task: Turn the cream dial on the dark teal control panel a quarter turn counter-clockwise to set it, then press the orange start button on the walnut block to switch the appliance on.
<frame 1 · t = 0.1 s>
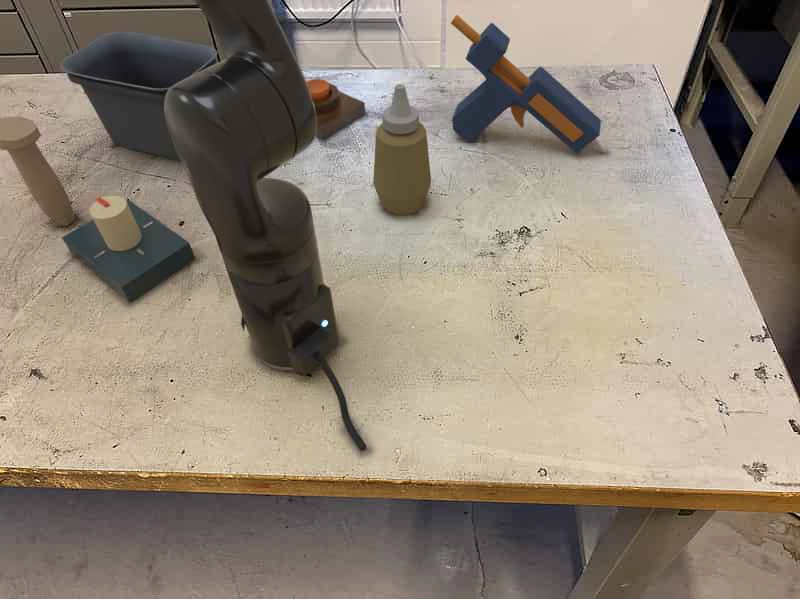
dial panel: (133, 256, 80), on the table
handle: (65, 221, 85), on the table
glue gun: (524, 142, 95), on the table
start button: (316, 90, 98), point 4 cm above the table, slide at 0.1 cm
dial: (116, 222, 75), point 6 cm above the table, hinge at 0.0°
squeeze bottle: (402, 203, 86), on the table
button block: (319, 114, 102), on the table
storage bin: (173, 139, 98), on the table
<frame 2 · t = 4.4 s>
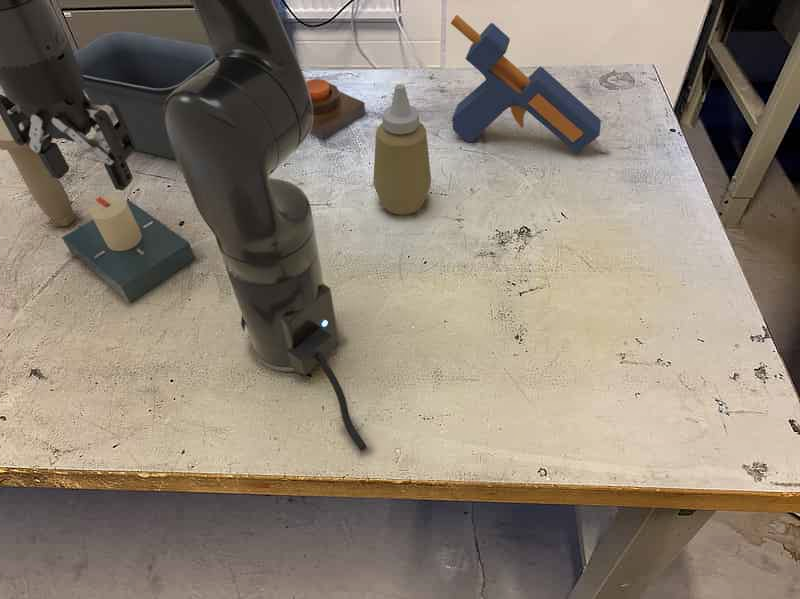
hand: (93, 180, 70), 13 cm above the table, tool pointing down, fingers open, 8 cm apart
nothing on the table moved.
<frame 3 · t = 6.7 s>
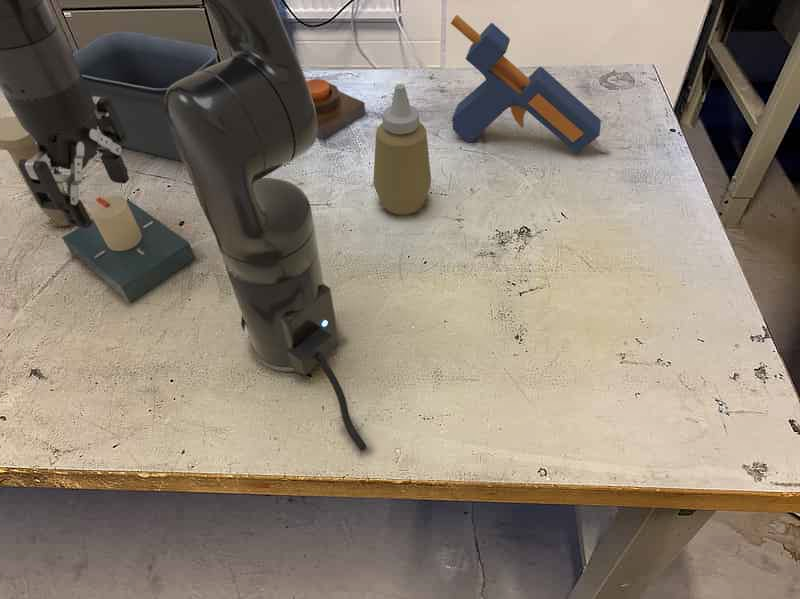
hand: (103, 202, 72), 9 cm above the table, tool pointing down, fingers open, 8 cm apart
nothing on the table moved.
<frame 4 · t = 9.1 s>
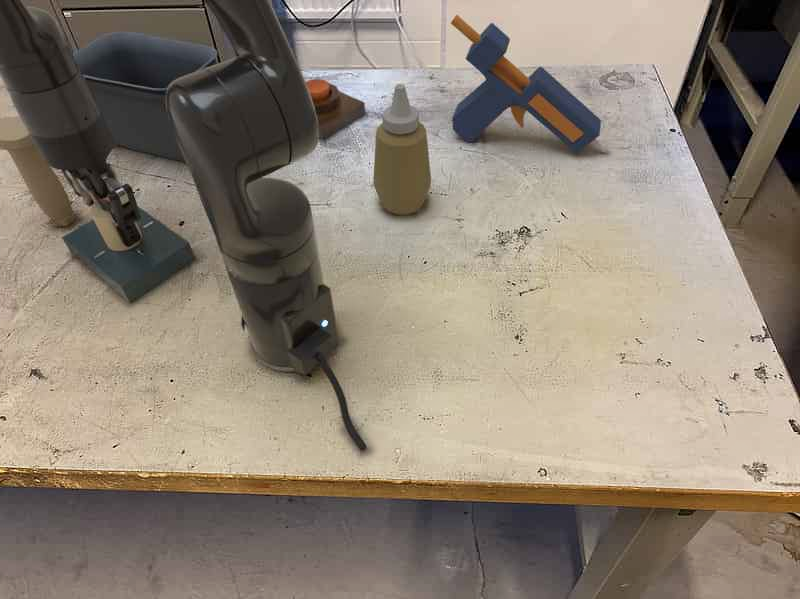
hand: (121, 233, 77), 4 cm above the table, tool pointing down, fingers closed on dial, 4 cm apart
dial: (116, 222, 75), point 6 cm above the table, hinge at 0.1°, touching gripper
everything else where it was.
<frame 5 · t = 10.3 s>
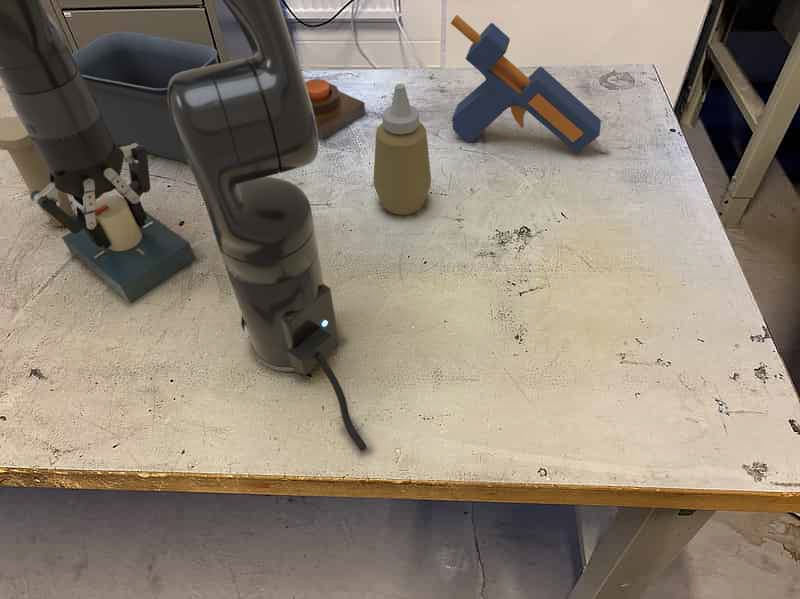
hand: (122, 233, 76), 4 cm above the table, tool pointing down, fingers closed on dial, 4 cm apart
dial: (116, 222, 75), point 6 cm above the table, hinge at 92.1°, touching gripper
everything else where it was.
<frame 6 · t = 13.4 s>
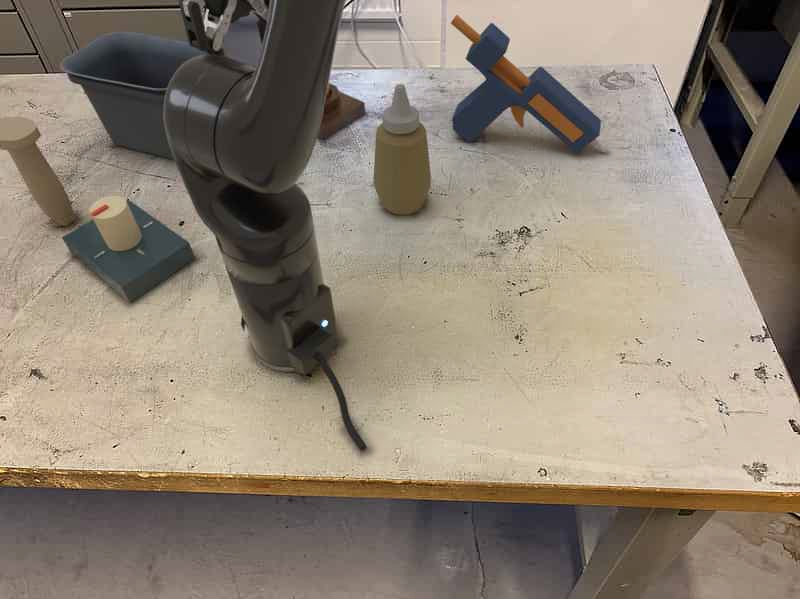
hand: (246, 61, 83), 15 cm above the table, tool pointing down, fingers open, 8 cm apart
dial: (116, 222, 75), point 6 cm above the table, hinge at 91.4°
everything else where it was.
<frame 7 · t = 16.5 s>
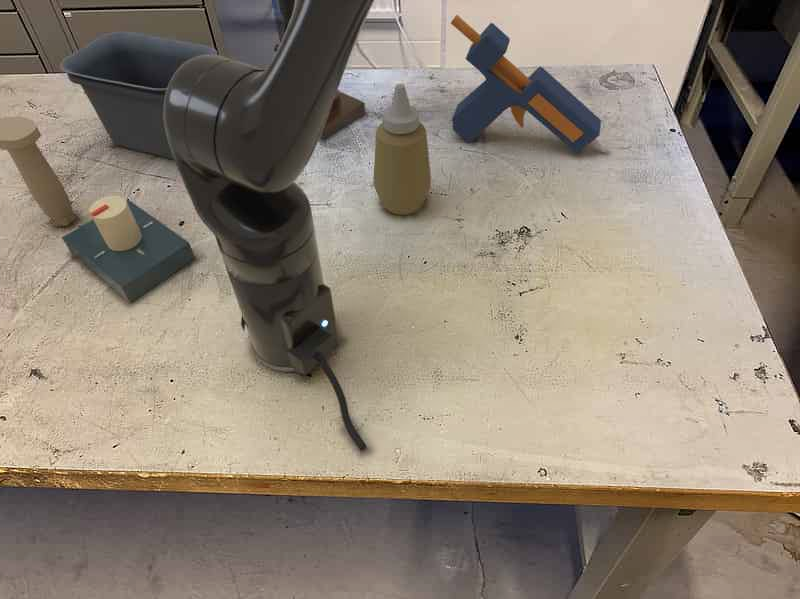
hand: (316, 89, 98), 5 cm above the table, tool pointing down, fingers closed
start button: (316, 94, 99), point 4 cm above the table, slide at -0.6 cm, touching gripper
everything else where it was.
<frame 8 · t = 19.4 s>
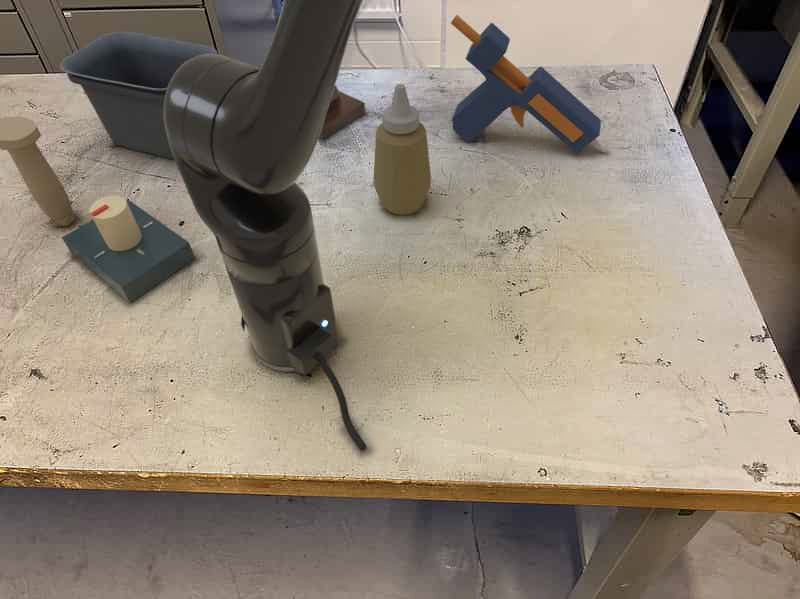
hand: (305, 13, 89), 17 cm above the table, tool pointing down, fingers closed
start button: (316, 90, 98), point 4 cm above the table, slide at 0.1 cm
everything else where it was.
at the end: dial at +91° (first picture: +0°); start button pushed in 1.1 cm at the most during the clip, back to where it started at the end; start button slide at 0.1 cm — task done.
